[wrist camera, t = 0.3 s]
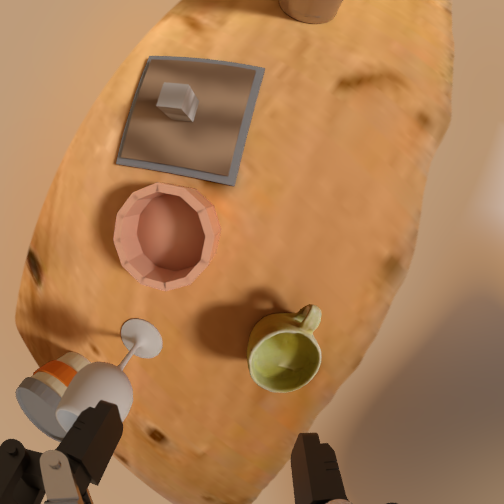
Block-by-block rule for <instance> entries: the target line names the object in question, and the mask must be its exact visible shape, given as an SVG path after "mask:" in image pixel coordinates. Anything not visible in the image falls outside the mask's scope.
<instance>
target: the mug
mask: <svg viewBox="0 0 504 504" xmlns="http://www.w3.org/2000/svg"><path fill="white" fill-rule="evenodd" d="M320 320H321V310H320V309H319V308H318V307H317V306H315V305H311V304H309V305H307V306H305V307H303V308H302V309H300V311H299V312H297V313H278V314H271V315H268V316H266V317H264V318H262V319H261V320H260V321H259V322H258V323H257V324H256V325H255V326H254V328H253V330H252V331H251V333H250V337H249V341H248V346H247V362H248V368H249V372H250V375H251V377H252V379H253V380H254V381H255V383H257V385H259V386H261V387H262V388H264V389H266V390H269V391H271V392H280V393H287V392H291V391H294V390H297V389H299V388H301V387H303V386H304V385H306V384H307V383H308V382H309V381H310V380H312V379H313V377H314V376H315V374H316V373H317V371H318V369H319V367H320V364H321V349H320V347H319V345H318V343H317V341H316V339H315V338H314V336H313V334H312V333H313V331H314V330H315V329H316V328H317V327H318V325H319V323H320Z"/></svg>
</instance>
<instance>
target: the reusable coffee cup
mask: <svg viewBox="0 0 504 504" xmlns="http://www.w3.org/2000/svg"><path fill="white" fill-rule="evenodd" d="M87 364H91V362H90V361H89V360H87V359H86V358H85V357H84V356H82V355H80V354H78V353H76V352H68V353H66V354H65V355H63V356H62V357H60V358H59V359H57V360H52V361H50V362H48V363H47V364H45V365H44V366H42V367H41V368H39V369H37V370H36V371H35V372H34V373H33V376H31V377H27V378H25V379H24V380H23V382H22V383H21V384H20V385H19V387H18V388H17V390H16V398H17V401H18V403H19V405H20V407H21V409H22V410H23V411H24V413H25V414H26V416H27V417H28V418H29V420H30V421H31V422H32V423H33V424H34V425H35V426H36V427H37V428H38V429H40V430H41V431H42V432H43V433H45V434H46V435H47V436H49V437H51V438H52V439H54V440H56V441H59V442H61V441H62V440H63V438H64V437H65V435H66V434H67V432H66V431H65V430H64V429H63V428H62V427H61V425H60V424H59V422H58V421H57V419H56V415H55V412H56V409H57V407H58V405H59V402H60V400H61V398H62V396H63V394H64V392H65V391H66V389H67V387H68V386H69V384H70V382H71V381H72V379H73V378H74V376H75V375H76V374H77V373H78V372H79V370H81V369H82V368H83V367H84V366H86V365H87Z"/></svg>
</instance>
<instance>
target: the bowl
mask: <svg viewBox="0 0 504 504" xmlns="http://www.w3.org/2000/svg"><path fill="white" fill-rule="evenodd" d="M220 233H221V227H220V224H219V221H218V217H217V214H216V211H215V208H214V205H213V204H212V203H210V202H209V201H208V200H207V199H206V198H205V197H204V196H203V195H202V194H201V193H200V192H199V191H198V190H196V189H194V188H189V187H184V186H179V185H174V184H166V183H155V184H152V185H150V186H147V187H145V188H142V189H140V190H137V191H135V192H133V193H132V194H131V195H130V197H129V198H128V199H127V201H126V202H125V203H124V205H123V206H122V207H121V209H120V210H119V212H118V213H117V216H116V223H115V230H114V238H113V240H114V244H115V247H116V250H117V253H118V256H119V259H120V262H121V265H123V267H124V268H125V269H126V270H127V271H128V272H129V273H130V274H131V275H132V276H133V277H134V278H135V279H136V280H137V281H138V282H139V283H140V284H142V285H145V286H149V287H152V288H156V289H159V290H163V291H169V290H172V289H176V288H180V287H183V286H187V285H190V284H191V283H192V282H193V281H194V280H195V279H196V278H197V277H198V276H199V275H200V274H201V273H202V271H203V270H204V269H205V268H206V267H207V266H208V265H209V263H210V262H211V260H212V259H213V257H214V256H215V254H216V251H217V247H218V242H219V237H220Z"/></svg>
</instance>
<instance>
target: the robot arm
mask: <svg viewBox="0 0 504 504" xmlns="http://www.w3.org/2000/svg"><path fill="white" fill-rule="evenodd" d="M342 1H343V0H279V4H280V7H281V8H282V10H283V11H284V12H285V13H286V14H287V15H289V16H290V17H292V18H294V19H296V20H299V21H302V22H306V23H314V24H318V23H325V22H328V21H330V20H332V19H333V18H334V17H335V15H336V13H337V11H338V9H339V7H340V5H341V3H342ZM122 432H123V424H122V420H121V417H120V413H119V409H118V406H117V405H116V404H113V403H110V402H107V401H104V400H100V401H99V402H98V404H97V405H96V407H95V408H93V407H88V408H87V409H85V410H84V411H82V412H81V413H80V415H79V416H78V418H77V419H76V421H75V422H74V424H73V425H72V427H71V428H70V429H69V431H68V432H67V434H66V435H65V437H64V438H63V440H62V441H61V443H60V445H59V446H58V447H57V449H55V450H49V451H46V452H44V453H39V452H35V451H31V450H27V449H25V448H24V446H23V445H22V443H20V442H19V441H17V440H15V439H8V440H6V441H4V442H3V443H2V444H1V446H0V504H41V501H42V499H43V497H44V495H45V493H46V495H47V501H45V502H44V504H93V501H92V499H91V496H90V493H89V491H88V486H89V483H92V484H95V485H98V484H99V482H100V480H101V478H102V476H103V473H104V471H105V469H106V467H107V465H108V463H109V461H110V459H111V456H112V455H113V452H114V450H115V448H116V446H117V444H118V442H119V440H120V438H121V436H122ZM291 468H292V478H293V487H294V495H295V504H352V503H351V502H350V501H349V500H348V499H347V497H346V495H345V490H344V486H343V482H342V479H341V474H340V471H339V467H338V463H337V459H336V455H335V452H334V450H333V449H332V448H331V447H330V445H329V444H328V443H323V444H320V441H319V436H318V434H317V433H299V435H298V438H297V440H296V443H295V445H294V448H293V450H292V454H291ZM387 504H397V503H387Z"/></svg>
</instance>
